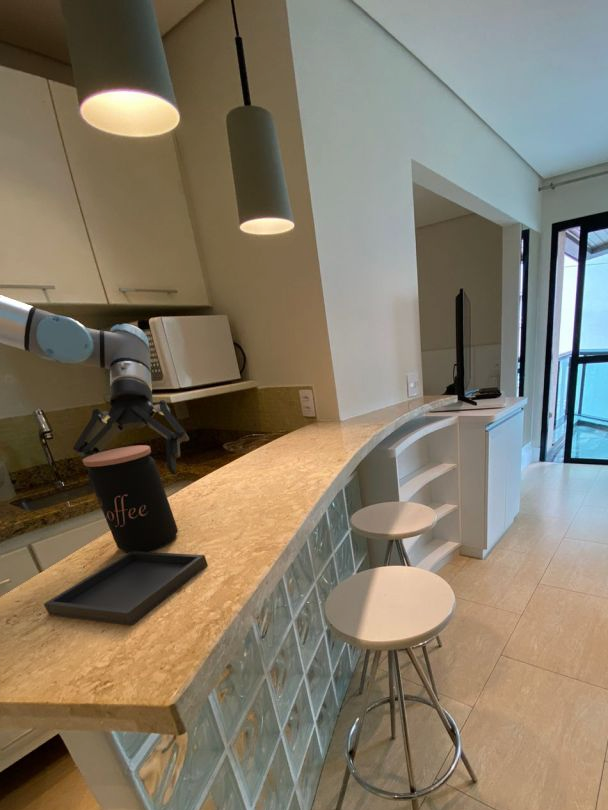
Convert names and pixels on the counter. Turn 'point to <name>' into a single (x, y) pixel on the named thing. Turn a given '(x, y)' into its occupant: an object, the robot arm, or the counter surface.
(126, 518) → the coffee jar
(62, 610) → the black tray
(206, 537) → the counter surface
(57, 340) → the robot arm
